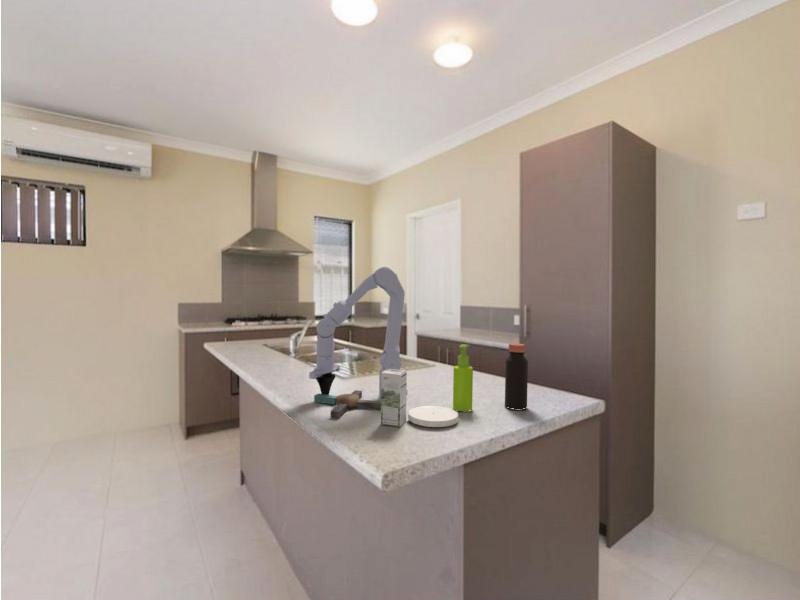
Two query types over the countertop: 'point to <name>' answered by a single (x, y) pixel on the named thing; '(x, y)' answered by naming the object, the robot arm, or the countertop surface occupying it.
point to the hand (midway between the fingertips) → (325, 396)
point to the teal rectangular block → (325, 398)
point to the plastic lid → (433, 416)
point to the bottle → (516, 377)
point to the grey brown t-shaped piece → (352, 404)
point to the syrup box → (393, 397)
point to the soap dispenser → (463, 382)
